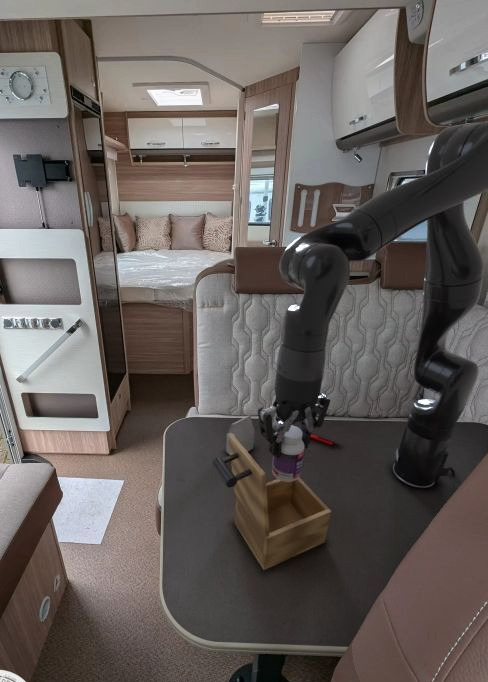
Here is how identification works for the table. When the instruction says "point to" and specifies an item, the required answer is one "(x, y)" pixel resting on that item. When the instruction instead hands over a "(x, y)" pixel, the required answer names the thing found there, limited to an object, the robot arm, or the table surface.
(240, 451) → the lid
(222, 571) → the table surface
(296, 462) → the pill bottle
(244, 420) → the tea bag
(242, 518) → the chest
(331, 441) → the pen
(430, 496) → the table surface
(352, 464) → the table surface
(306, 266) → the robot arm
